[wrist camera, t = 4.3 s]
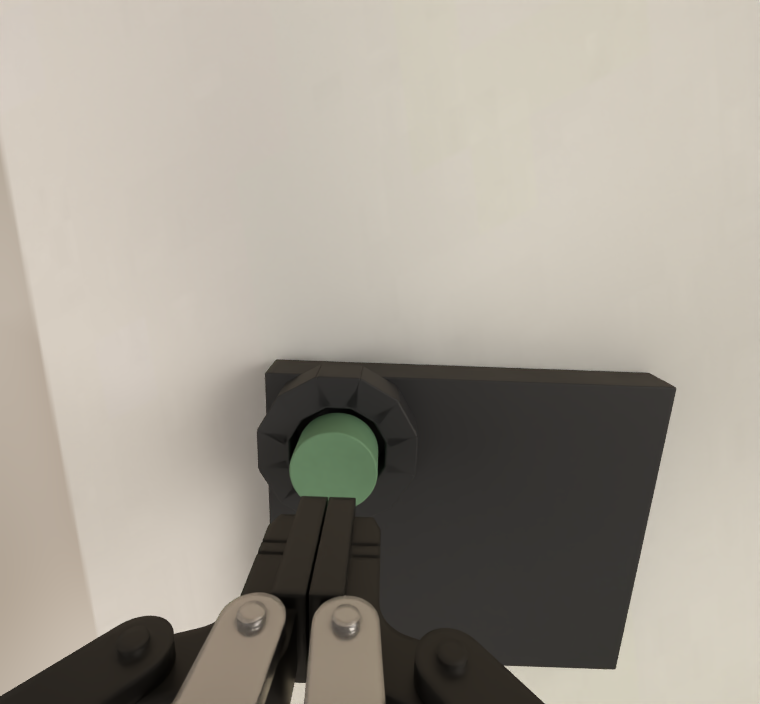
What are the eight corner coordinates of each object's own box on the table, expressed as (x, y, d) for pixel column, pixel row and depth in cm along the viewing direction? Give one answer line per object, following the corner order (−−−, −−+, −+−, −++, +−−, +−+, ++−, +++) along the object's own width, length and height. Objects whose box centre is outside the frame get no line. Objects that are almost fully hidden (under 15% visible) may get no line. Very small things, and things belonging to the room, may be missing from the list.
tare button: (298, 483, 17) (289, 510, 16) (297, 410, 17) (288, 430, 15) (376, 486, 18) (376, 513, 16) (379, 413, 17) (379, 434, 15)
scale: (282, 624, 23) (265, 691, 20) (275, 348, 19) (252, 374, 16) (597, 635, 23) (634, 704, 20) (651, 362, 19) (708, 391, 16)
